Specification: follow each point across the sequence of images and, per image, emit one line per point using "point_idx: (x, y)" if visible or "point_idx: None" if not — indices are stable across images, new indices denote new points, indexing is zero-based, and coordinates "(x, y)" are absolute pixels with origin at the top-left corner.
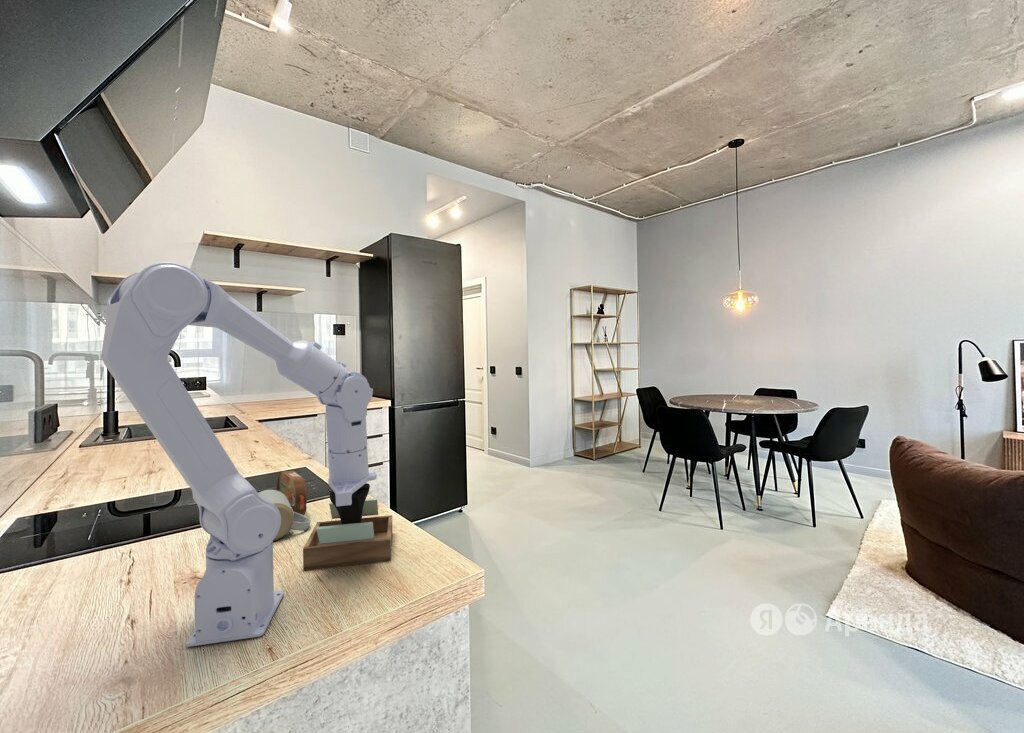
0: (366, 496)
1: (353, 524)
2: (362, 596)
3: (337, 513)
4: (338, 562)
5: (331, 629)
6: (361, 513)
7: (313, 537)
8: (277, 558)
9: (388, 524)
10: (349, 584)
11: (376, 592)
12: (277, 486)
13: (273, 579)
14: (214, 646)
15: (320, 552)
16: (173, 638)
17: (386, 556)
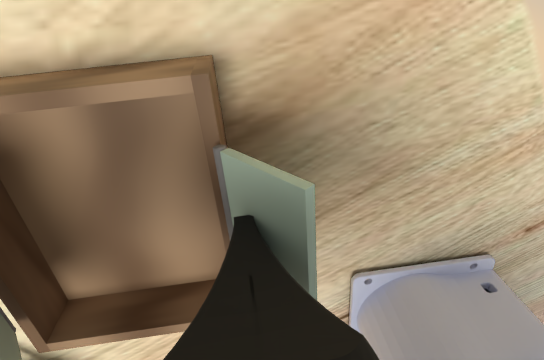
0: (366, 341)
1: (311, 261)
2: (420, 106)
3: (6, 333)
4: None
5: (529, 145)
6: (284, 269)
7: (159, 323)
8: (176, 338)
9: (14, 110)
10: (345, 154)
11: (414, 70)
12: None
13: (428, 319)
14: None
15: None
16: None
17: (214, 74)
